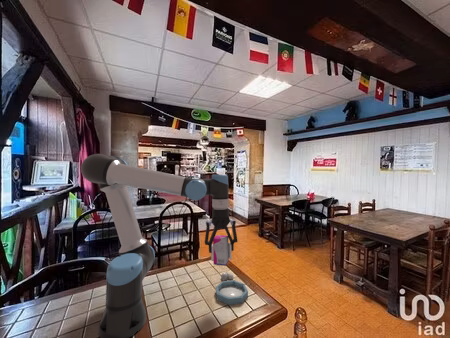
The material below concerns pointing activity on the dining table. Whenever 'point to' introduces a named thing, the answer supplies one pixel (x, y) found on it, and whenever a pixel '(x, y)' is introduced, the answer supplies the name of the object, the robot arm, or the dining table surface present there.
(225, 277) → the pebble pile
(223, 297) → the dish
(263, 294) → the dining table surface
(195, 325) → the dining table surface
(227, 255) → the supplement box
